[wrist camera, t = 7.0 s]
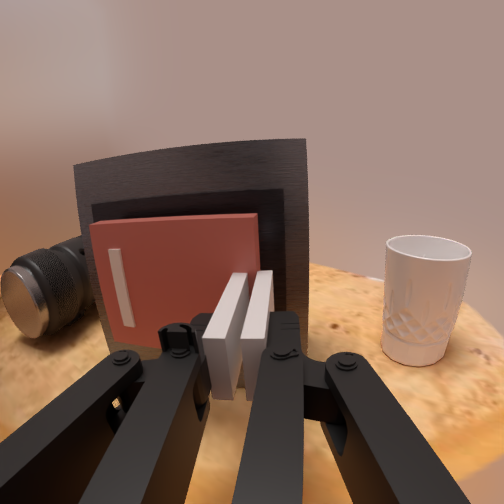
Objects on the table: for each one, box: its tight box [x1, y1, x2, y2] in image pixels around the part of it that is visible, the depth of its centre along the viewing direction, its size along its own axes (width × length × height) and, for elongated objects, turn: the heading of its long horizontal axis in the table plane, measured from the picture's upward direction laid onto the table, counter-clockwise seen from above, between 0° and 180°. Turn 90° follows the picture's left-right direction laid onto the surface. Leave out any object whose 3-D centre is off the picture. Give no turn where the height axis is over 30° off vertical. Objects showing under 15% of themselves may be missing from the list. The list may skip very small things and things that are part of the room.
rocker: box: [89, 213, 260, 349], centre depth 17 cm, size 10×1×8 cm, turn 80°
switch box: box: [74, 139, 309, 387], centre depth 24 cm, size 16×8×18 cm, turn 86°
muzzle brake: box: [0, 235, 95, 339], centre depth 38 cm, size 10×28×10 cm, turn 168°
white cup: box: [381, 235, 472, 367], centre depth 24 cm, size 8×8×10 cm
